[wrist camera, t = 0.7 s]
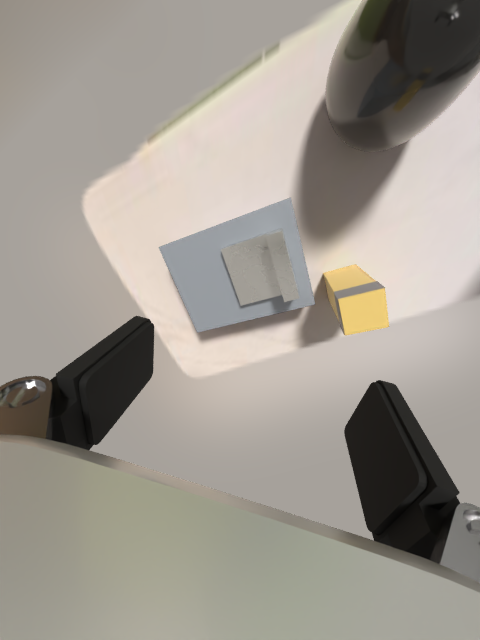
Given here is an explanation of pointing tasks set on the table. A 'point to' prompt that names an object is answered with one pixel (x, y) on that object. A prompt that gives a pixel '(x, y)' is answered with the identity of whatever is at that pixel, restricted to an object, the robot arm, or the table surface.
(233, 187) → the table surface
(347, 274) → the plug
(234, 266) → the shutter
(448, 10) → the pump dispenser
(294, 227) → the socket board
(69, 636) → the robot arm
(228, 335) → the table surface
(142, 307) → the table surface
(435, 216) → the table surface
